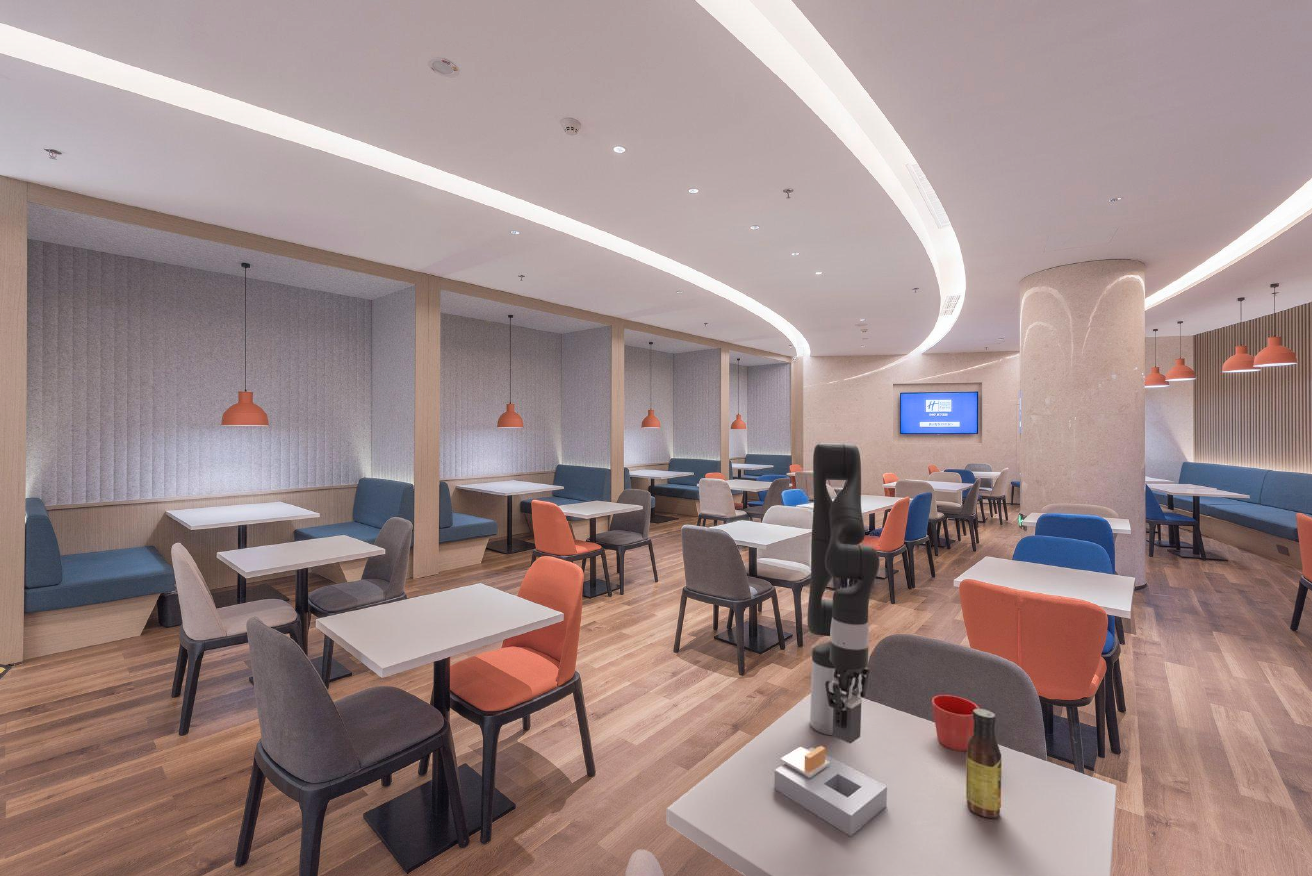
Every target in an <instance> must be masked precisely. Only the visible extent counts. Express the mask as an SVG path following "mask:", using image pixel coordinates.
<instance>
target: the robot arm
mask: <svg viewBox="0 0 1312 876" xmlns="http://www.w3.org/2000/svg"><path fill="white" fill-rule="evenodd" d="M860 453H861V452H860V450H859V448H858V447H857V446H856V445H855V444H852V443H835V442H834V443H831V442H821V443H820V442H819V443H817V444H816V445H815V447H814V450H813V456H812V457H813V459H812V475H813V476H812V478H813V479H812V480H813V481H812V482H813V507H812V508H813V512H812V513H813V515H812V527H811V542H810V550H811V551H810V552H811V553H810V556H811V557H810V567H811V568H810V584H809V585H810V586H809V595H808V604H807V605H808V606H807V618H806V619H807V628H808V631H809V632H810V633H811V634H812V635H816V636H824V637H830V638H829V641H828V642H825V643H821V644H817V645H816V646H814V647H813V649H812V651H811V652H812V653H811V680H810V681H811V682H810V688H811V689H810V714H809V718H810V719H809V723H810V726H811V728H813V730H815V731H816V732H819V733H821V734H824V735H827V736H833V735H832V734H833V708H834V709H835V724H836V726H838V727H840V728H842V729H844V728H846V724H847V703H848V700H850V699H851V696H852V695H854V696H856V697H859V698H864V699H865V696H866V692H867V686H868V683H869V675H870V669H869V668H867V667H868V665H869V645H870V643H869V641H870V640H869V639H870V631H869V630H870V629H869V603H870V597H871V592H872V589H873V586H874V583H875V581H876V578H877V576H878V573H879V567H880V562H881V561H880V555H879V554H878V552H877V550H876V549H875V548H874V547H872V546H871V545H867V544H866V545H865V544H861V543H862V542H863V541H864V539H865V537H866V535H865V534H866V533H865V531H866V530H865V525H864V518H863V511H862V464H861V461H862V459H861V454H860ZM828 480H829V481H847V482H846V483H845V485H844V487H843V488H842V489H841V490H840V492H839V493H838V494H837V495H836V497H834V499H833V500H832V498H831V495H830V493H829V490H828V487H827V481H828ZM833 577H834V578H837V579H848V580H857V582H856V583H855V584H854V585H851V586H848V587H841V588H837V589H835V590H834V592H833V594H832V599H823V595H824V593H825V591H826V588H827V586H828V585H829V583H831V580H832V579H833ZM843 691H844V692H846V693H847V694H844V693H842V692H843ZM841 698H843V704H842V700H841Z"/></svg>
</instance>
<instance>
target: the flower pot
mask: <svg viewBox="0 0 1312 876" xmlns="http://www.w3.org/2000/svg"><path fill="white" fill-rule="evenodd" d="M931 700H932V701H931V704H932V713H933V718H934V724H935V730H936V731H935V732H936V737H937V740H938V742H939V743H940V744H941V745H943V746H944V747H946V748H949V749H952V750H954V751H959V752H960V751H961V752H963V751H966V752H967V743H968V739H969V738H970V736H971V735H972V734H973V732H974V731H973V728H974V718H973V710H974V709H980V707H979V705H978V704H976V703H975V702H972V701H971V700H968V699H965V698H963V697H960V696H955V695H951V694H950V695H949V694H939V695H936V696H933V697H932V699H931Z"/></svg>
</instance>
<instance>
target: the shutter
mask: <svg viewBox="0 0 1312 876" xmlns="http://www.w3.org/2000/svg"><path fill="white" fill-rule="evenodd" d="M814 749H815V750H813V751H811V752H810V751H808V750H809V749H807V748H804V747H802V746H800V747H797V748H795V749H794V750H793V751H792V750H791V752H789V753H787V754H785V755H784V756H782V757H780V762H781V763H783V764H787V765H788V766H790V767H792V768H793V769H795V770H797V771H799V772H800V773H802V774H804V775H806V776H807V777H809V778H810V777H812V776H813V775H815V774H816V773H818V772H819V771H821V770H822V769H824V768H825V767H827V766H828V765H830V762H829V761H827V760H825V754H826V747H824V746H822V745H820V746H818V747H816V748H814Z"/></svg>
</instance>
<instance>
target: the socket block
mask: <svg viewBox="0 0 1312 876" xmlns="http://www.w3.org/2000/svg"><path fill="white" fill-rule="evenodd" d="M815 749H816V748H814V747H810V748H808V749H807V750H808V751H810V752H811V751H813V750H815ZM825 760H827V761H829V762H830V765H828V766H827V767H825V768H824V769H822V770H821V771H819V772H818V773H816V774H815V775H813V776H812V777H810V778H809V777H807V776H806V775H804V774H802V773H800V772H799V771H797V770H795V769H793V768H792V767H790V766H788V765H787V764H785V763H783V764H782V765H781V766H779V767H777V768H776V769H774V779H773V780H774V784H773V786H774V787H773V789H775V791H778V793H780V794H782V795H784V796H786V797H787V798H789V799H791V800H792V801H793V802H795V803H797V804H798V805H800V806H802V807H803V808H805V809H807V810H808V811H809V812H811V813H813V814H814V815H816V816H817V817H819V818H821V819H822V820H824V821H825V822H827V823H829V824H830V825H832V826H833V827H835V828H837V829H838V830H840V831H842V832H843V833H845V834H846V835H848V836H849V837H853V835H854V834H855V833H857V831H859V830H861V828H862V827H863V826H865V825H866V824H867V823H868V822H869V821H871V820H872V819H873V818H874V817H876V816H877V815H878V814H879V813H880V812H881V811H882V810H883V809H885V808H886V807H887V804H888V803H887V802H888V801H887V800H888V799H887V798H888V797H887V796H888V786H887V785H885V784H883V783H881V782H879V781H877V780H875V779H873V778H871V777H869V776H867V775H866V774H864V773H862V772H860V771H858V770H857V769H855V768H852V767H850V766H849V765H847V764H845V763H842V762H841V761H839V760H837V759H836V758H833V757H832V756H830V755H828V754H826V753H825Z"/></svg>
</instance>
